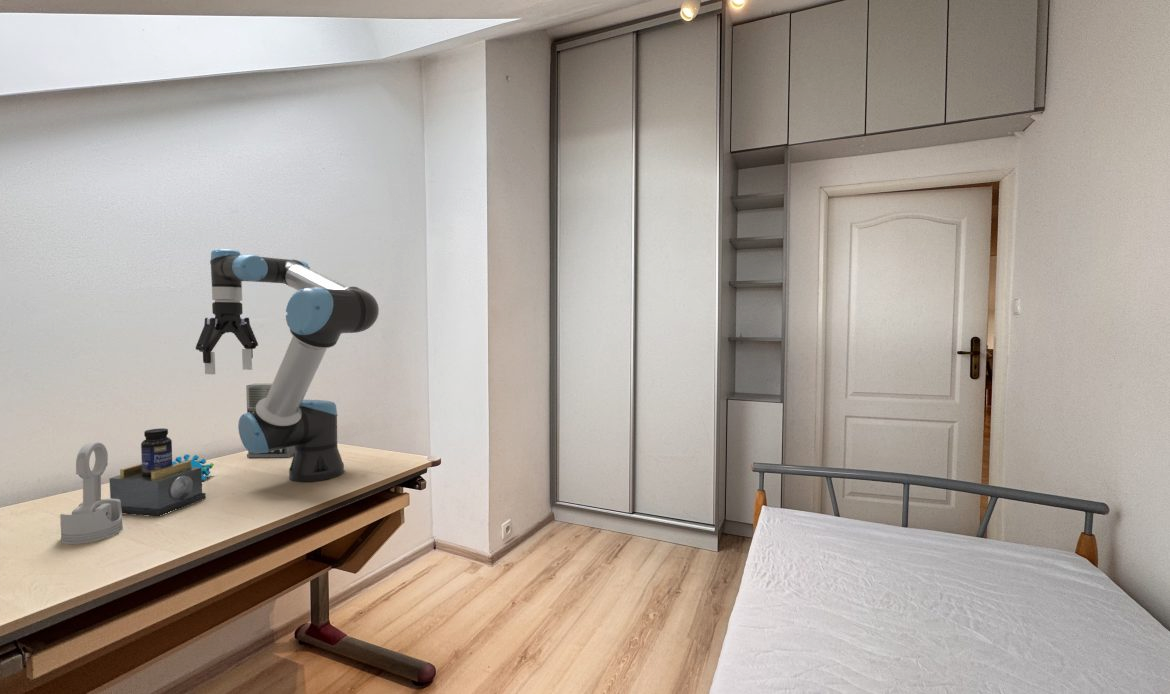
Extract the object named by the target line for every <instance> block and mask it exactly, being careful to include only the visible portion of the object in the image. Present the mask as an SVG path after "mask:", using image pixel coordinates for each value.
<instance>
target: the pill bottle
mask: <svg viewBox="0 0 1170 694" xmlns="http://www.w3.org/2000/svg"><path fill="white" fill-rule="evenodd" d="M143 432H144V438H145V439H144V440H143V441H141V443H140V449H141V450H140V451H141V464H142V474H143V475H148V476H151V472H152V471H155V470H158V469H162V468H165V467H168V466H172V463H173V444H172V443H173V440H172V439H171V438H170V437H168V434H169V429H168V428H162V427H161V428H151V429H147V430H144V431H143Z"/></svg>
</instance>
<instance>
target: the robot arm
mask: <svg viewBox="0 0 1170 694" xmlns="http://www.w3.org/2000/svg"><path fill="white" fill-rule="evenodd" d="M209 263H210V277H211V278H210V279H211V297H212V298H211V299H212V300H213V301H214V302H212V303H211V304H212V306H211V308H212V312H211V313H212V314H213V315H214V317H205V318H204V325H203V328H202V331H201V333H200V335H199V338H198V340H197V342H196V345H195V350H197V351H199V352H201V353H202V362H203V364H204V374H205V375H216V358H215V357H216V354H215V351H213V350H214V348H216V345H217V344H218V342H219V341H220V339H222V336H223V335H225V334H226V333H227V334H228V333H231V334H234V336H235V338H236V339H237V340H238V341H239V342H240V344H241V345H242V346H243V348H242V349H241V356H242V358H241V360H242V370H247V371H249V370H250V371H252V370H253V355H254V354H253V349H255V350H256V347H258V346H259V342H258V341H257V338H256V335H255V334H254V331H253V328H252V327H251V326H252V325H251V323H250V317H241V315H243V303H242V301H243V282H255V283H271V284H285V285H286V286H288V287H291V288H293V289H294V290H296V291H295V292H294V293H293V294H292V295H291V297H290V298H289V300H288V302H287V305H286V309H285V312H286V315H285V320H286V324H287V326H288V328H289V333H290V334H291V336H292V338H291V340H290V343H289V344H288V346H287V349H286V352H285V354H284V355H283V359H282V360H281V363H280V365H279V368H278V369H277V372H276V374H275V377H274V379H273V381H272V386H271V388H270V390H269V393H268V395H267V397H266V398H263V399H261V400H260V401H259V402H258V403H257V405H256V407H255V409H254V411H253V412H252V413H249V412H248V413H247V412H245V413H243V414H242V415H241V416H240V417H239V419H238V425H237V429H238V435H239V439H240V441H241V443H242V445H243V447H244V448H245V449H246V450H247V451H249V452H251V453H253V454H259V453H268V452H270V451H275V450H279V449H284V448H288V447H292V446H295V454H294V455H293V458H292V460H291V463H290V467H289V469H288V474H289V475H288V478H289V480H291V481H294V482H295V481H296V482H302V481H303V482H305V483H307V482H319V481H325V480H330V479H332V478H333V479H334V478H336V477H338V476H342V475H343V473H344V472H345V465H344V462H343V458H342V456H341V454H340V451H339V447H338V411H337V405H336V403H335V402H334V401H329V400H320V399H304V398H305V396H306V394H307V392H308V390H309V388H310V385H311V383H312V382H313V380H314V377H315V375H316V372H317V371H318V369H319V366H320V365H321V362H322V360H323V359H324V356H325V353H326V351H327V349H329V348H333V347H334V346H335V345H336V344H337V342H338V341H339V339H340V336H341V335H342V334H353V333H355V334H356V333H362V332H365V331H366V330H369V329H370V328H371V327H372V326H374V324H375V322H377V319H378V317H379V311H380V309H379V305H378V302H377V299H376V298H375V297H374V296H373V295H372V294H371V293H370V292H368V291H366V290H363V289H362V288H360V287H357V286H347V285H345V284H342V283H341V282H339V281H336V280H335V279H332V278H330V277H328V276H326V275H323V274H321V273H319V272H317V271H315V270H313V269H311V268H310V267H311V266H309V263H307V262H306V261H304V260H298V259H294V258H293V259H286V258H279V257H278V258H276V257H268V256H267V257H264V256H260V255H256V254H248V253H244V254H241V252H240V251H239V250H235V249H229V248H228V249H226V248H225V249H224V248H215V249H212V250H211V252H210V260H209Z"/></svg>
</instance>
